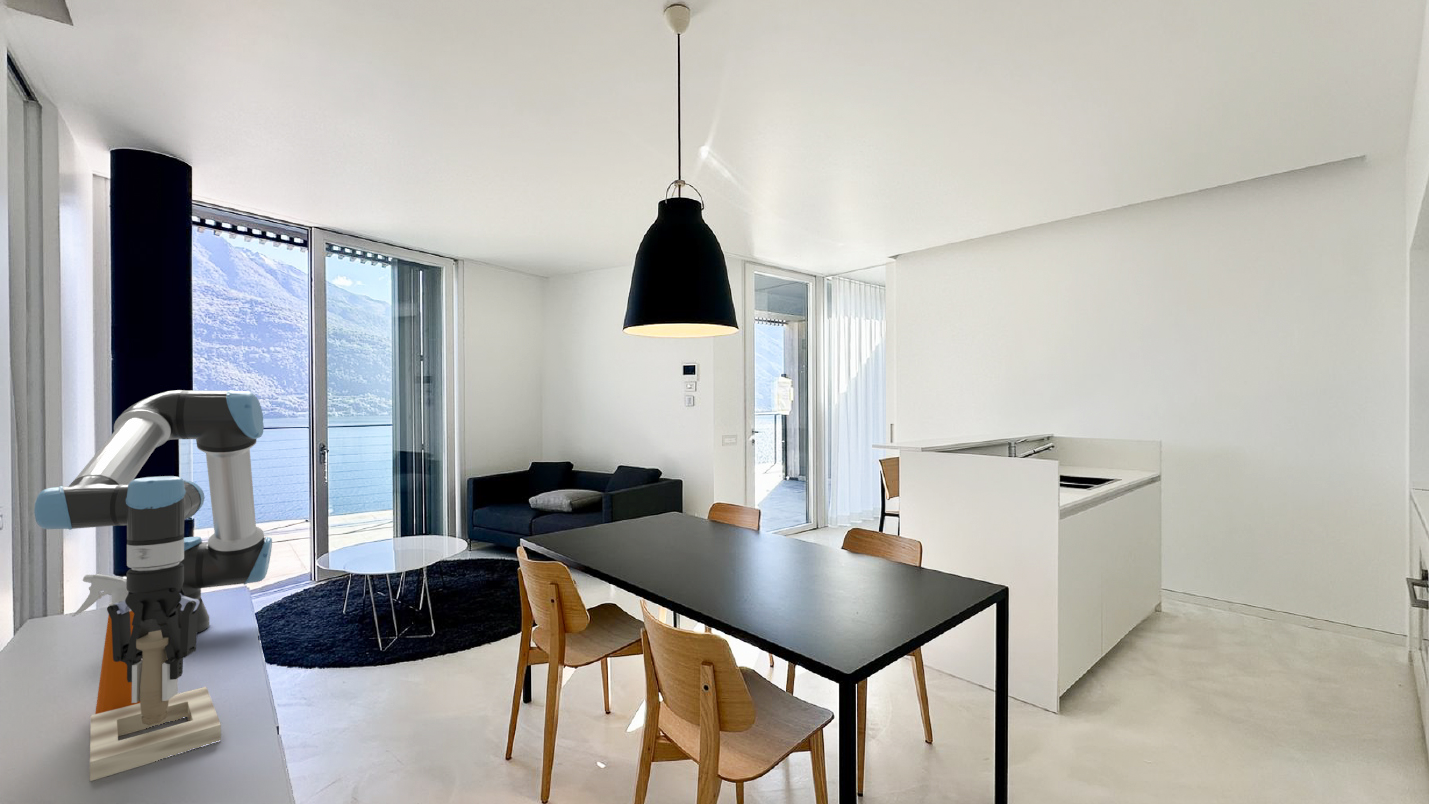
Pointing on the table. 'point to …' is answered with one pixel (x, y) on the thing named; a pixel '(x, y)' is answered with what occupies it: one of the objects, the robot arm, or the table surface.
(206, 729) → the board
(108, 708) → the spray bottle
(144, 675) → the handle
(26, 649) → the table surface
